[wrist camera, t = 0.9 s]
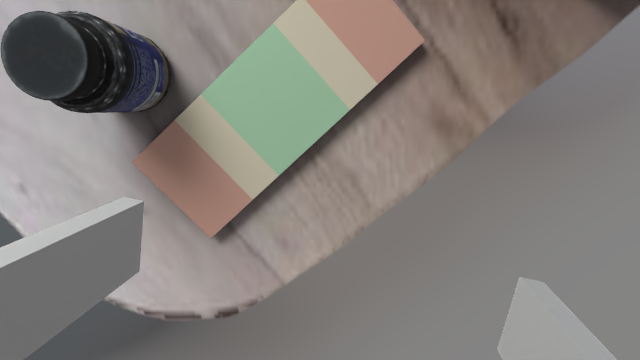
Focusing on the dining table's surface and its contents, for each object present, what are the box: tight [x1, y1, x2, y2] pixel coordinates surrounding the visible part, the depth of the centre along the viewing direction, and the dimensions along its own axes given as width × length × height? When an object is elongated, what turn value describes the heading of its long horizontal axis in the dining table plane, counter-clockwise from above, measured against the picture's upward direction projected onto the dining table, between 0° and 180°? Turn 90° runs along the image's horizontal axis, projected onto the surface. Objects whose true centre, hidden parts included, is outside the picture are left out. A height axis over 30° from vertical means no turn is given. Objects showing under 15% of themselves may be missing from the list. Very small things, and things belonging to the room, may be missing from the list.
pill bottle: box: [1, 11, 170, 113], centre depth 26 cm, size 6×6×11 cm
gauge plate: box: [132, 0, 425, 238], centre depth 32 cm, size 9×24×1 cm, turn 133°
